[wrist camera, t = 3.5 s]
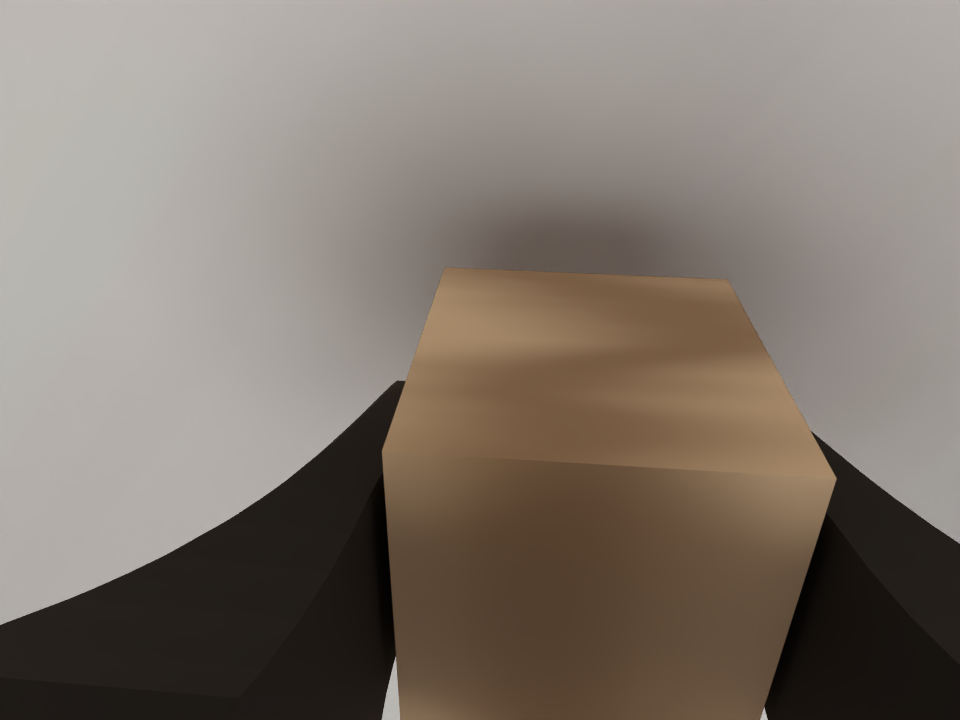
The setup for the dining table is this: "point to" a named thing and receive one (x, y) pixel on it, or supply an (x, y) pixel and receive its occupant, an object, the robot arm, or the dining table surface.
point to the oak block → (595, 502)
